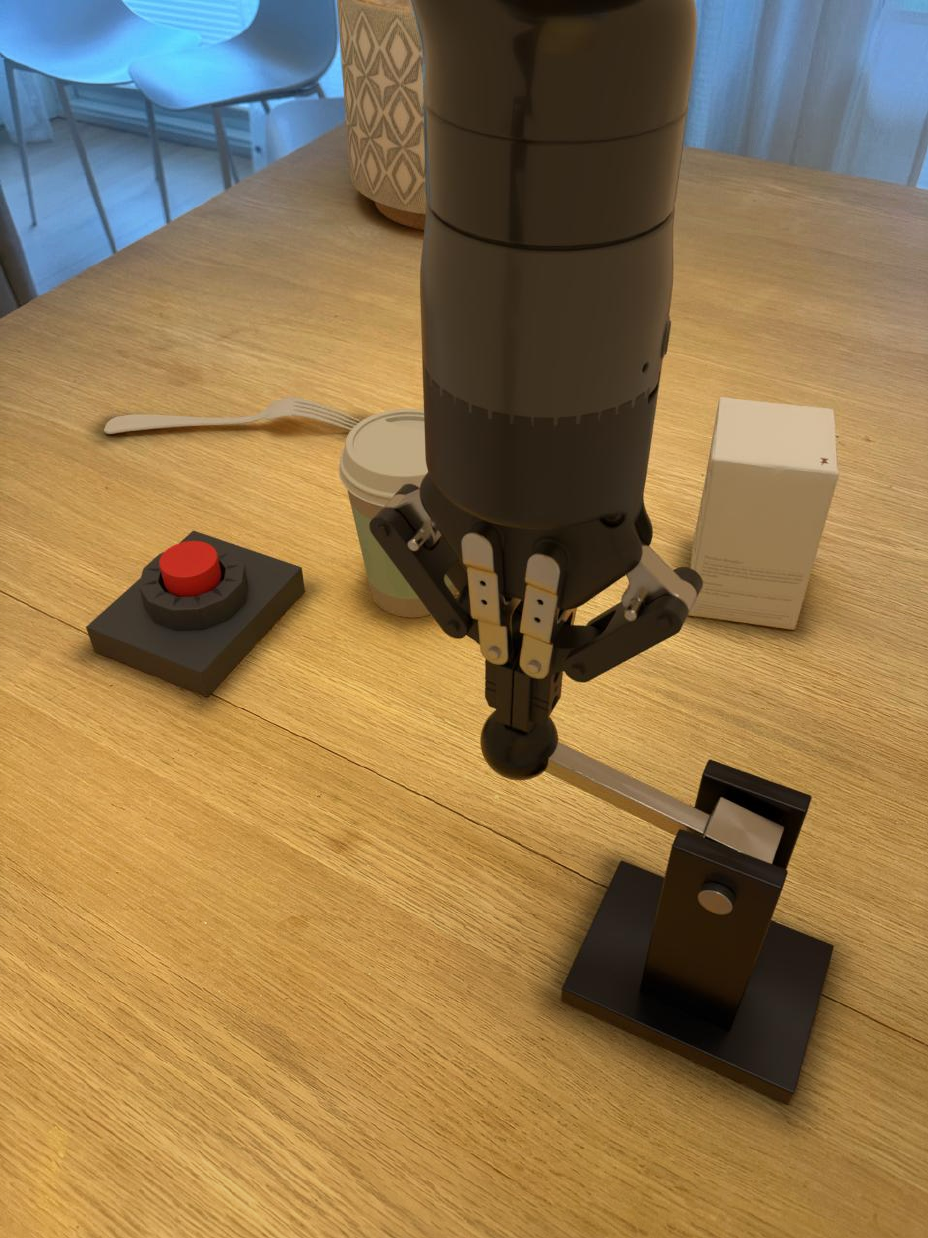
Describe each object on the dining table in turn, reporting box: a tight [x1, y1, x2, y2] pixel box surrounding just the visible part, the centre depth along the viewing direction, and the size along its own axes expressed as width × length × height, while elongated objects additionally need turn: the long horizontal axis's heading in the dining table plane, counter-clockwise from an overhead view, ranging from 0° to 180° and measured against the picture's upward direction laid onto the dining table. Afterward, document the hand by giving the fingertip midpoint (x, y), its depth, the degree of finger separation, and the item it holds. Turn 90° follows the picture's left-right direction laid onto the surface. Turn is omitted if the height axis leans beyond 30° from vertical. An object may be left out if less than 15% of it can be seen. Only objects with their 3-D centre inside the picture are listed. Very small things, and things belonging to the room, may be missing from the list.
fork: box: [103, 396, 361, 435], centre depth 87 cm, size 3×21×3 cm, turn 90°
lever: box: [479, 709, 784, 864], centre depth 45 cm, size 13×3×3 cm, turn 63°
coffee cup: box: [338, 408, 457, 618], centre depth 68 cm, size 9×9×12 cm
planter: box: [336, 0, 426, 231], centre depth 115 cm, size 26×26×22 cm
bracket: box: [560, 759, 835, 1105], centre depth 47 cm, size 11×8×13 cm
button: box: [159, 541, 221, 597], centre depth 67 cm, size 4×4×2 cm
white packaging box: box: [688, 396, 840, 630], centre depth 68 cm, size 7×7×13 cm
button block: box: [85, 530, 306, 698], centre depth 68 cm, size 11×9×4 cm
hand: (522, 714), depth 45 cm, fingers closed
